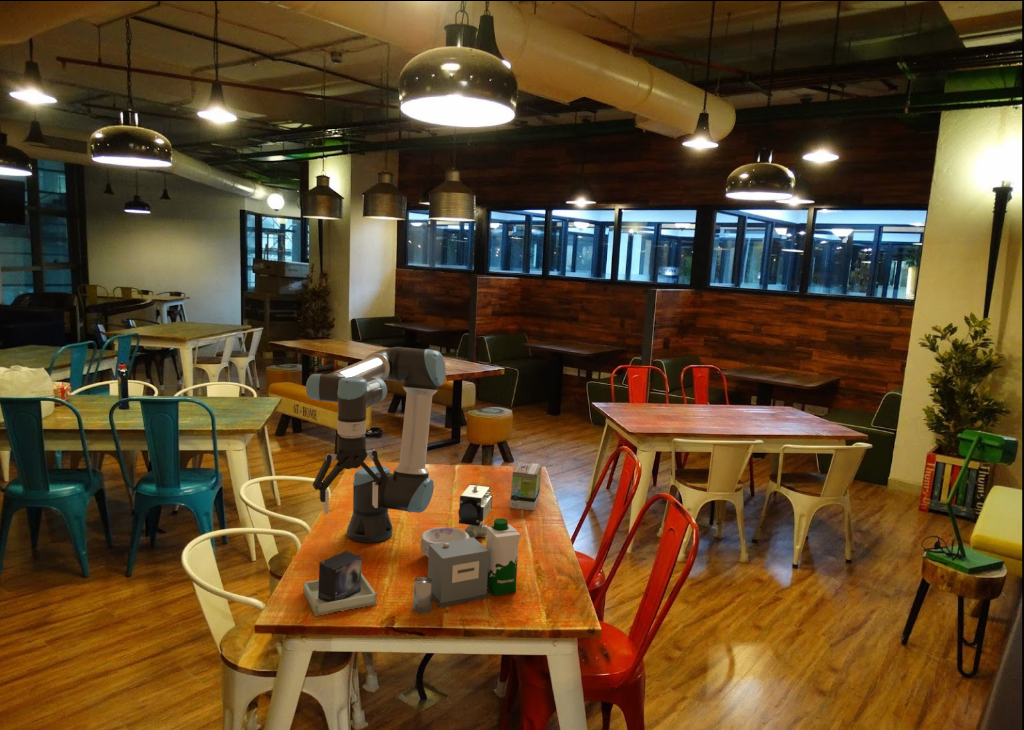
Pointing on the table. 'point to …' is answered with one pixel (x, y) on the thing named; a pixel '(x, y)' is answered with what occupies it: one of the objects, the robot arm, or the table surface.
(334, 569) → the small box
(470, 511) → the ball valve
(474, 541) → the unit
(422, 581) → the grey cylinder
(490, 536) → the milk carton
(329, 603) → the tray
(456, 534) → the paper bowls
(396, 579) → the table surface
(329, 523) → the table surface
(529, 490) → the tea box
